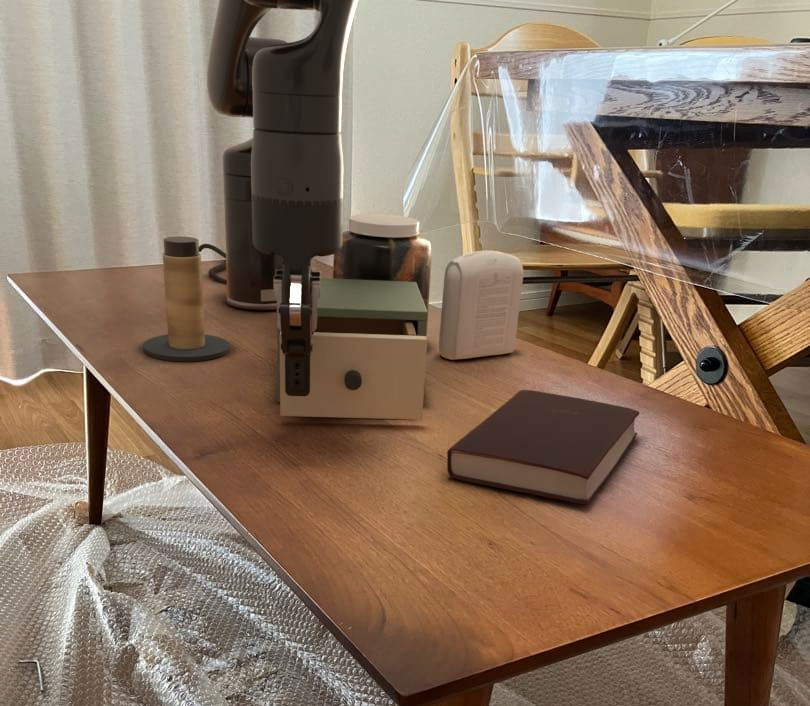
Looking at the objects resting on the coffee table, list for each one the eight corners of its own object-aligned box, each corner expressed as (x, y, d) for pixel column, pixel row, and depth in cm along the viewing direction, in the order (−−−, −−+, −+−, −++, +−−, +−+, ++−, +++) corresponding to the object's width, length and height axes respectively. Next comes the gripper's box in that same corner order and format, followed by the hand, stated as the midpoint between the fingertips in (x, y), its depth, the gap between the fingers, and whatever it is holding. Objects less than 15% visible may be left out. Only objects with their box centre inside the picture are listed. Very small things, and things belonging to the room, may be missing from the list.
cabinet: (421, 406, 95) (427, 311, 90) (277, 402, 93) (276, 306, 89) (411, 366, 107) (416, 281, 102) (284, 362, 105) (283, 276, 101)
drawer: (423, 424, 87) (428, 342, 84) (279, 420, 86) (279, 337, 82) (411, 379, 99) (416, 306, 96) (286, 375, 98) (285, 301, 94)
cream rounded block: (498, 345, 117) (508, 245, 111) (519, 354, 114) (531, 252, 108) (432, 354, 112) (439, 250, 106) (453, 363, 109) (461, 257, 103)
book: (443, 478, 78) (446, 442, 77) (516, 413, 94) (520, 383, 93) (585, 512, 74) (591, 475, 72) (637, 438, 90) (643, 406, 88)
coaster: (151, 336, 112) (150, 331, 112) (233, 339, 113) (233, 334, 113) (135, 360, 103) (135, 355, 103) (225, 363, 104) (225, 358, 104)
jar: (332, 356, 109) (335, 224, 102) (330, 330, 119) (332, 209, 112) (430, 359, 110) (439, 229, 103) (420, 333, 120) (428, 213, 113)
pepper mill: (171, 339, 109) (164, 235, 104) (207, 340, 110) (202, 236, 104) (166, 349, 106) (158, 241, 100) (202, 350, 106) (197, 243, 100)
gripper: (344, 203, 70) (339, 419, 77) (342, 184, 81) (338, 373, 89) (244, 199, 69) (250, 417, 77) (257, 180, 81) (261, 370, 88)
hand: (297, 393), depth 83 cm, fingers closed
